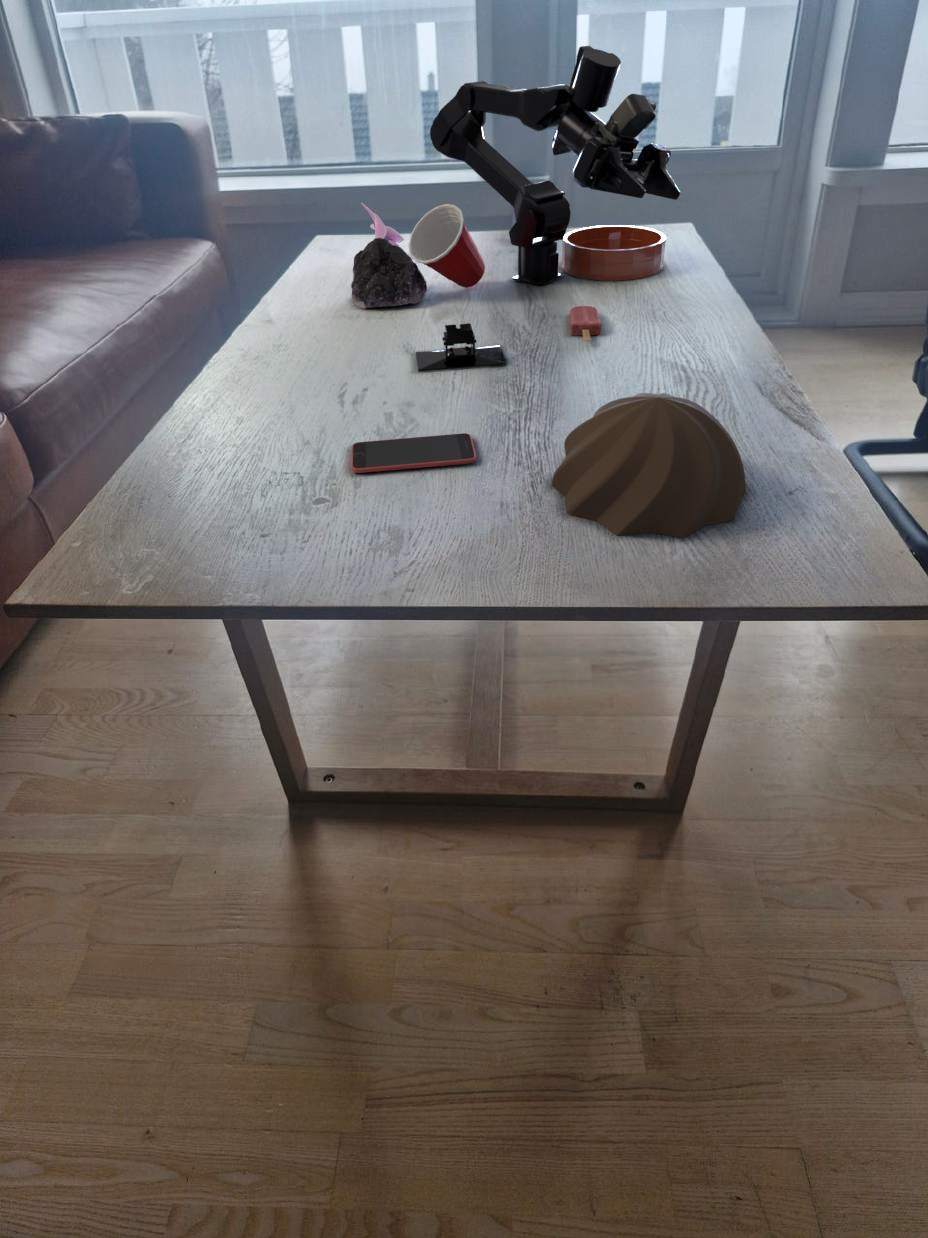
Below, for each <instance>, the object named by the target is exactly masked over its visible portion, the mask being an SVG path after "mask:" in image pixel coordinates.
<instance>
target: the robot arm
mask: <svg viewBox="0 0 928 1238" xmlns="http://www.w3.org/2000/svg"><path fill="white" fill-rule="evenodd" d="M621 65H622V61H621V59H620V58H619V57H618V56H617V55H616V54H615V53H612V52H608V51H605V50H602V49H597V48H594V47H592V46H591V45H583V46H579V48H578V50H577V54H576V60H575V65H574V68H573V72H572V75H571V79H570V82H569V84H566V83H565V84H564V83H563V84H556V85H550V86H543V87H535V88H523V87H518V86H517V87H516V86H508V85H502V84H494V83H489V82H486V81H485V80H480V81H472V82H466V83H463V84H462V85H461V86H460V87H459V88H458V90H457V92H456V94H455V95H454V96H453V97H452V98H451V99H450V100H449V101H448V102H447V103H446V104H445V105H444V106H443V107H442V108H441V109H439V111H438V113H437V115H436V117H435V118H433V120H432V123H431V126H430V130H429V136H430V140H431V144H432V146H433V148H434V149H435V150H436V151H437V152H438V153H440V154H441V155H443V156H444V157H446V158H448V159H452V160H455V161H458V162H459V161H460V162H463V163H465V164H466V165H467V166H468V167H470V169H472V170H473V171H474V173H476V174H477V175H478V177H480V178H481V179H482V180H483V181H485V183H487V184H488V185H489V186H490V188H492V189H493V190H494V191H495V192H496V193H497V194H498V195H499V196H501V198H503V199H504V200H505V201H506V202H507V203H508V204H509V205H510V206H511V207H512V208H513V212H514V219H515V222H514V224H513V225H512V227H511V228H510V230H508V236H509V240H510V245H512V246H516V247H517V275H514V276H513V277H512V281H515V282H521V283H526V284H531V285H537V286H543V285H546V284H548V283H550V282H553V281H556V280H557V279H559V278H562V273H559V259H560V258H559V255H560V254H559V251H558V242H557V241H563V239H564V236H565V235H566V234H567V229H568V226H569V224H570V221H571V213H572V212H571V204H570V203H569V201H568V199H567V198H566V197H565V195H566V192H565V191H561V190H560V189H558V187H557V186H556V185H555V184H554V182H552V181H550V180H549V179H547V180H543V181H537V182H534V183H533V182H532V181H531V180H530V179H529V178H527V177H526V176H525V175H524V174H523V173H522V172H521V171H520V170H518V169H517V168H516V167H515V166H514V165H513V164H512V163H511V162H510V161H509V160H508V159H506V158H505V156H504V155H502V154H501V153H500V152H499V151H498V150H496V149H495V148H494V147H493V146H492V145H491V144H490V143H489V142H488V141H487V140H486V139H485V136H484V130H483V128H484V126H485V124H486V119H487V118H486V117H487V113H488V114H493V115H499V116H505V117H512V118H516V119H517V120H519V121H520V122H521V124H522V125H523V126H525V127H527V128H529V129H531V130H533V131H535V132H543V131H549V130H554V129H557V130H556V133H555V135H554V136H552V138H551V140H552V146H551V147H552V148H551V149H552V154H553V156H559V155H564V154H569V153H571V152H572V153H573V154H575V156H577V157H578V159H577V160H576V162H575V165H574V167H573V170H572V174H573V175H572V176H573V181H574V182H575V183H576V184H578V185H579V186H580V187H581V188H586V189H587V188H588V189H589V190H591V191H592V190H593V191H599V192H605V193H610V194H617V195H622V196H627V197H633V198H637V199H642V198H644V197H645V194H646V195H647V194H648V195H653V196H657V197H660V198H665V199H670V200H674V201H677V200H679V197H680V195H681V191H680V190H679V188H678V186H677V185H676V183H675V181H674V179H673V178H672V176H671V175H670V173H669V171H668V169H667V168H668V167H667V165H668V162H669V160H670V158H671V157H672V151H671V150H670V149H668V148H667V147H665V146H664V145H663V144H656V143H649V144H647V145H644V146H642V148H641V150H640V152H639V155H638V157H637V159H635V158H634V154H635V153H634V150H636V149H637V147H638V145H639V143H640V140H639V139H638V138H637V137H638V136H639V135H640V134H641V133H642V132H643V131H644V130H646V129H647V128H648V127H649V126H650V125H651V124H652V122H653V121H655V119H656V117H657V112H656V108H657V105H656V103H653V102H652V101H651V100H650V99H649V98H648V97H647V96H646V95H643V94H637V93H631V94H629V95H627V96H626V97H625V98H624V99H623V100H622V101H621V103H619V106H618V107H616V109H615V110H614V111H613V112H612V114H611V115H610V116H609V119H608V120H607V121H606V122H604V121H603V120H602V119H600V117H598V116H597V115H595V114H594V113H596V112H598V111H599V110H600V109H602V108H606V107H607V106H608V103H609V100H610V98H611V96H612V95H611V94H612V92H613V88H614V86H615V82H616V79H617V76H618V73H619V70H620V68H621Z"/></svg>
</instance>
